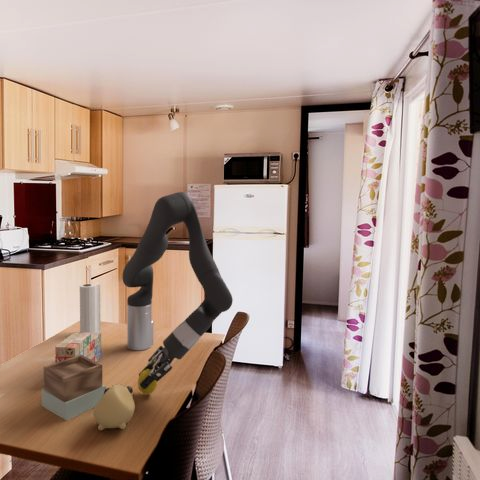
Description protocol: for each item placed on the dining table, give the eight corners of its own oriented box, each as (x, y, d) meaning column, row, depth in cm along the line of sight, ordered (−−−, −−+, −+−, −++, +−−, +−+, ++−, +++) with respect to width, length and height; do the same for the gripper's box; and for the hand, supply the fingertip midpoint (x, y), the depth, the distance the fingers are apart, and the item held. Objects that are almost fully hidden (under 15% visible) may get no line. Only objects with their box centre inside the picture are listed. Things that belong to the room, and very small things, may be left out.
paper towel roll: (77, 336, 158) (76, 286, 156) (85, 331, 164) (84, 283, 162) (93, 337, 157) (92, 287, 155) (100, 332, 163) (100, 284, 161)
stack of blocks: (85, 356, 139) (84, 324, 137) (101, 357, 138) (101, 324, 137) (55, 384, 117) (54, 346, 116) (75, 385, 117) (75, 346, 116)
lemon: (140, 401, 108) (140, 374, 108) (136, 392, 113) (136, 367, 113) (159, 397, 111) (159, 371, 110) (154, 388, 116) (154, 363, 115)
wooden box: (81, 375, 114) (81, 354, 113) (102, 386, 107) (102, 364, 106) (44, 389, 105) (43, 366, 104) (64, 402, 98) (64, 378, 98)
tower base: (80, 390, 115) (80, 374, 114) (105, 402, 108) (105, 385, 108) (41, 407, 105) (41, 389, 104) (66, 421, 98) (66, 403, 98)
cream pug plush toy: (138, 411, 104) (138, 373, 103) (130, 438, 92) (130, 396, 91) (101, 412, 103) (101, 374, 102) (88, 439, 91) (88, 397, 90)
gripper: (170, 324, 119) (131, 364, 117) (177, 340, 106) (133, 386, 103) (186, 338, 122) (148, 378, 119) (195, 356, 108) (152, 401, 106)
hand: (141, 381), depth 111 cm, fingers closed on lemon, 5 cm apart
